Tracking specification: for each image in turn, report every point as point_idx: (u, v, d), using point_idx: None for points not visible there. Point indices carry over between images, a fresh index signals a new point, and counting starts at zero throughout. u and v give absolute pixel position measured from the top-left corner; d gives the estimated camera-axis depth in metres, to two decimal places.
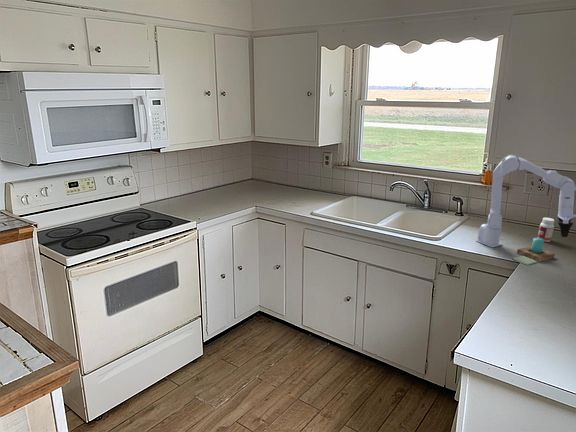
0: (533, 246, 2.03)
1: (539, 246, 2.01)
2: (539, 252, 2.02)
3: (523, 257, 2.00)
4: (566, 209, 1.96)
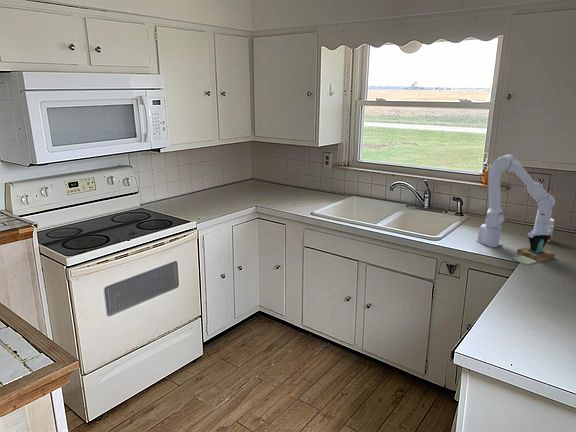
0: None
1: (539, 246, 2.01)
2: (539, 252, 2.02)
3: (523, 257, 2.00)
4: (538, 225, 1.98)
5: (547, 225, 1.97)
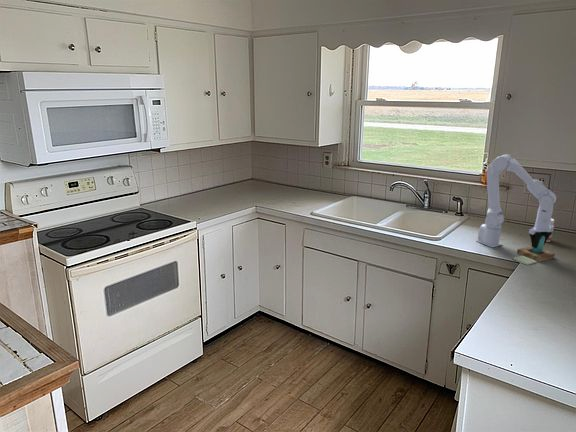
0: None
1: (540, 243, 2.01)
2: (540, 249, 2.02)
3: (523, 257, 2.00)
4: (539, 221, 1.98)
5: (548, 222, 1.97)
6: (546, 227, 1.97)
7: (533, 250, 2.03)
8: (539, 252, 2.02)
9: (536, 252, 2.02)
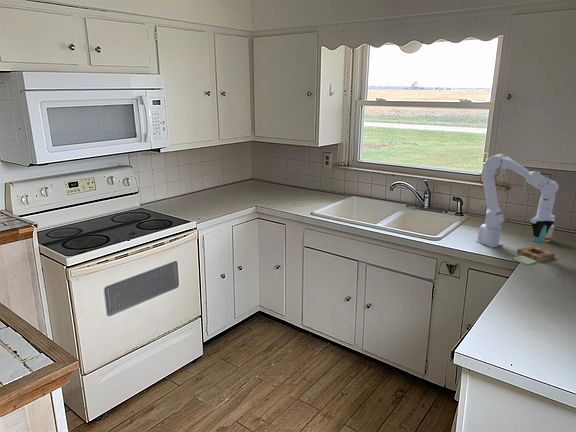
0: None
1: (542, 233, 1.99)
2: (542, 238, 2.00)
3: (523, 257, 2.00)
4: (541, 210, 1.96)
5: (550, 211, 1.95)
6: (548, 216, 1.96)
7: (535, 239, 2.01)
8: (541, 241, 2.00)
9: (538, 241, 2.00)
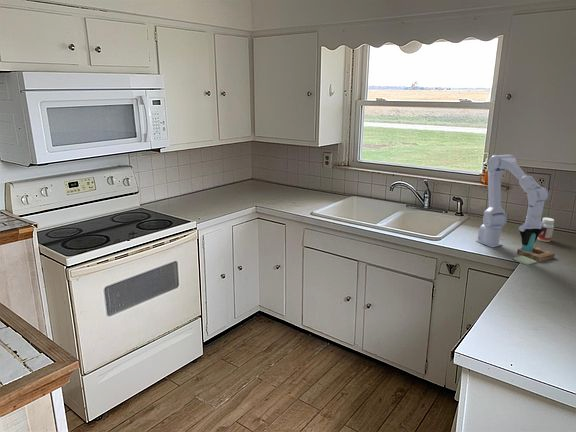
0: None
1: (531, 241, 1.93)
2: (531, 246, 1.94)
3: (523, 257, 2.00)
4: (529, 218, 1.90)
5: (539, 218, 1.89)
6: (536, 224, 1.90)
7: (523, 248, 1.95)
8: (529, 250, 1.94)
9: (526, 250, 1.95)
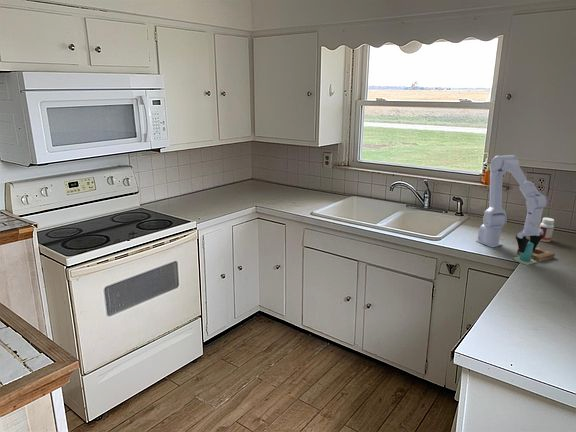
0: None
1: (529, 251, 1.94)
2: (529, 256, 1.95)
3: None
4: (528, 225, 1.91)
5: (537, 225, 1.90)
6: (535, 231, 1.91)
7: (521, 257, 1.97)
8: (527, 259, 1.96)
9: (524, 259, 1.96)
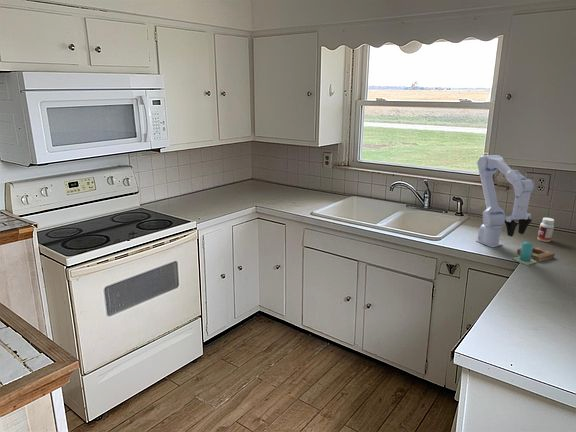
0: (522, 250, 1.96)
1: (529, 251, 1.94)
2: (528, 256, 1.95)
3: None
4: (516, 209, 1.95)
5: (525, 209, 1.94)
6: (523, 214, 1.95)
7: (521, 257, 1.97)
8: (527, 259, 1.96)
9: (524, 259, 1.96)
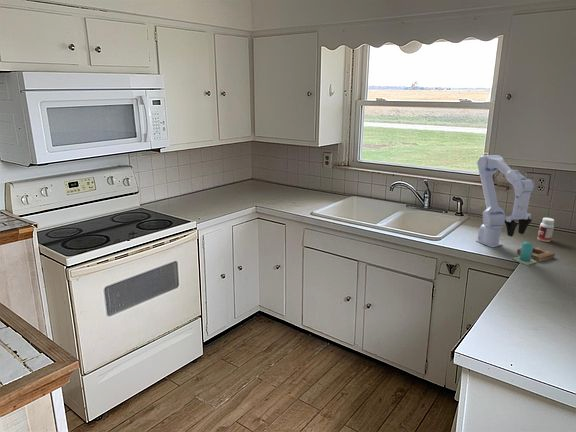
0: (522, 250, 1.96)
1: (529, 251, 1.94)
2: (528, 256, 1.95)
3: None
4: (516, 209, 1.95)
5: (525, 209, 1.94)
6: (523, 214, 1.95)
7: (521, 257, 1.97)
8: (527, 259, 1.96)
9: (524, 259, 1.96)
